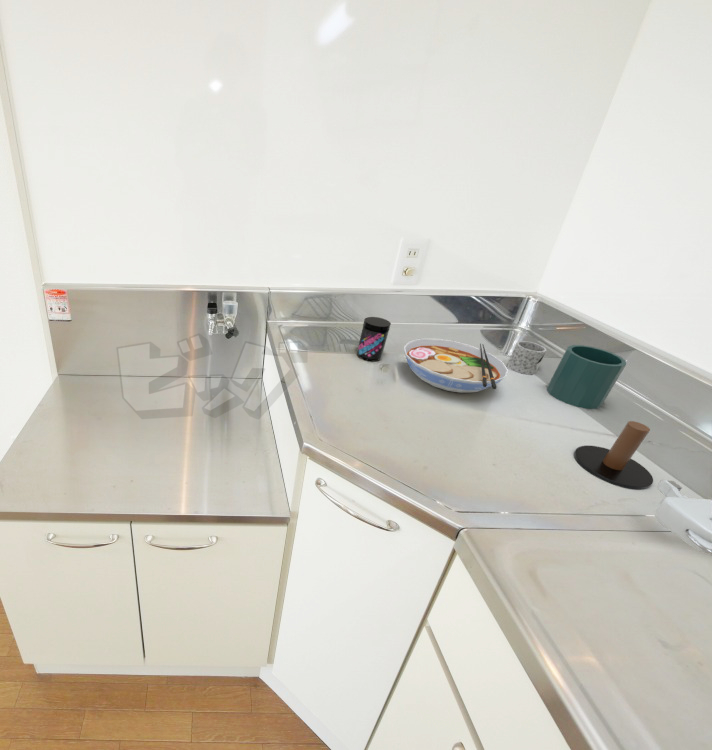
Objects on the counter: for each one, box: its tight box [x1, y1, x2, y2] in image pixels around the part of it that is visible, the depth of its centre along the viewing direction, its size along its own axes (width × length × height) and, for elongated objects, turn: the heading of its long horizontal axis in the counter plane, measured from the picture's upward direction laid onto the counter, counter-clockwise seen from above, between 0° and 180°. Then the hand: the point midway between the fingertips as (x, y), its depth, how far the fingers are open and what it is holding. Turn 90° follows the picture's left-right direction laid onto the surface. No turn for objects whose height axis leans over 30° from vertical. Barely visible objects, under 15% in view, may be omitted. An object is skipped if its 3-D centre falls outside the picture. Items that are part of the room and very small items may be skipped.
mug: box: [506, 340, 547, 375], centre depth 114 cm, size 10×7×7 cm, turn 162°
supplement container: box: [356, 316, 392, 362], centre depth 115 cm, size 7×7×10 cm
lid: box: [573, 420, 654, 490], centre depth 77 cm, size 11×11×10 cm
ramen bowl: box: [403, 337, 509, 394], centre depth 103 cm, size 25×23×8 cm
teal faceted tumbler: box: [546, 344, 627, 410], centre depth 97 cm, size 10×10×12 cm
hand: (695, 485), depth 65 cm, fingers open, 8 cm apart
